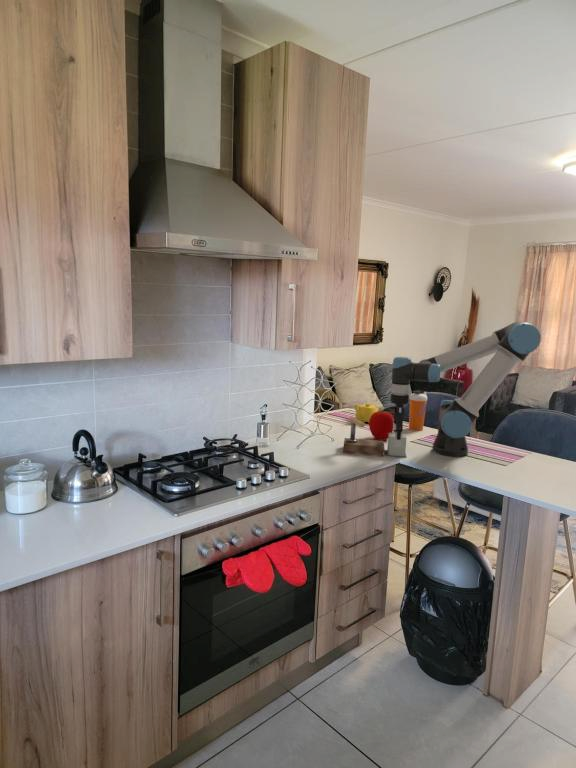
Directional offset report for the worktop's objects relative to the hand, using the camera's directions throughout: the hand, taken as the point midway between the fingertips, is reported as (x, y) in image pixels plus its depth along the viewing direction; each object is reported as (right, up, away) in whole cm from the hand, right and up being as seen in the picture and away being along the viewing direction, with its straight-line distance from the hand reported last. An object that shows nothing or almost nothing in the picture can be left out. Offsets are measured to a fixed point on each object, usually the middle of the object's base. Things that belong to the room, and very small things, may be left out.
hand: (396, 442), depth 226 cm
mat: (-1, -5, +1) cm, 5 cm away
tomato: (-3, -1, +25) cm, 25 cm away
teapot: (-3, +4, +61) cm, 61 cm away
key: (-18, 0, -1) cm, 18 cm away
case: (-14, -4, +3) cm, 15 cm away
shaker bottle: (+20, +1, +49) cm, 53 cm away
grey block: (0, -5, +1) cm, 5 cm away
